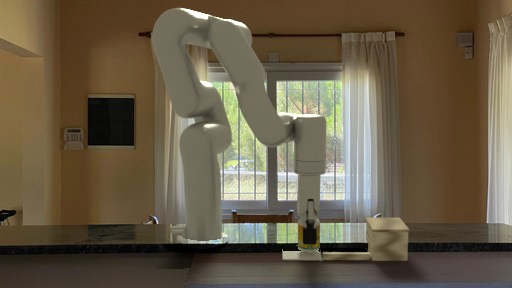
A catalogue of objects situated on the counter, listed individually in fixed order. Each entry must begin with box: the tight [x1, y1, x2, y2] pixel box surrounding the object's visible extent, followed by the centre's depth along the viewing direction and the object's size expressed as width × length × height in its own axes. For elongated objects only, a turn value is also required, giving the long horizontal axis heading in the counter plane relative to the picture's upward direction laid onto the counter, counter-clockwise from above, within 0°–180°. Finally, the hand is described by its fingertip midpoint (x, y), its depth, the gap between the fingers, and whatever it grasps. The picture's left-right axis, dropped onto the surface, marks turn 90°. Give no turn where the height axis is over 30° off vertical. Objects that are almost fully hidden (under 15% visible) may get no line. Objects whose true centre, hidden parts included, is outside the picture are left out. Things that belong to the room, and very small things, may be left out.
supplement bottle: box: [297, 213, 321, 252], centre depth 117 cm, size 5×5×10 cm
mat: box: [282, 250, 321, 261], centre depth 118 cm, size 9×9×1 cm
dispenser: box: [318, 217, 410, 262], centre depth 117 cm, size 21×10×8 cm, turn 87°
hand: (308, 238), depth 118 cm, fingers closed on supplement bottle, 5 cm apart
